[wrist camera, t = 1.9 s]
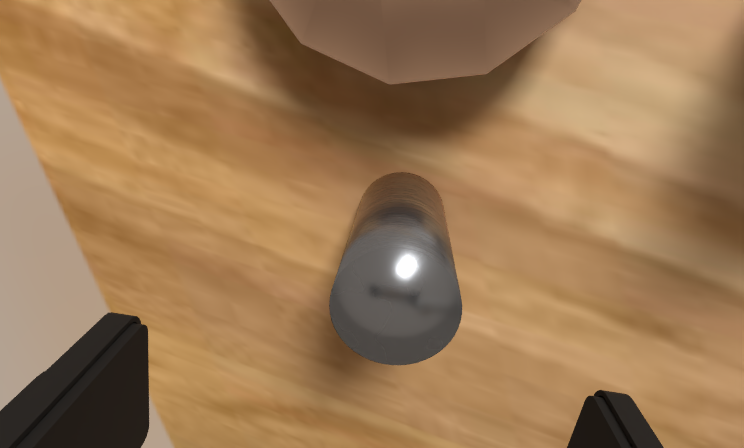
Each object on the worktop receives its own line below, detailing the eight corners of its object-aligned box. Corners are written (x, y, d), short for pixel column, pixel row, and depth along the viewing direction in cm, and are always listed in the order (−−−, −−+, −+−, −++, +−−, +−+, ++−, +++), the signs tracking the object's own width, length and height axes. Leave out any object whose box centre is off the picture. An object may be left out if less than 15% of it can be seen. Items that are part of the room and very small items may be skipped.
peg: (460, 223, 23) (487, 325, 15) (391, 266, 24) (380, 385, 16) (411, 155, 22) (411, 222, 14) (342, 203, 23) (302, 293, 15)
